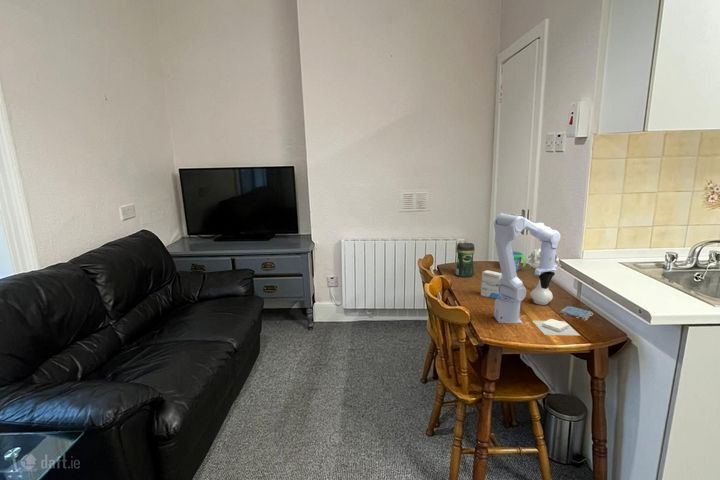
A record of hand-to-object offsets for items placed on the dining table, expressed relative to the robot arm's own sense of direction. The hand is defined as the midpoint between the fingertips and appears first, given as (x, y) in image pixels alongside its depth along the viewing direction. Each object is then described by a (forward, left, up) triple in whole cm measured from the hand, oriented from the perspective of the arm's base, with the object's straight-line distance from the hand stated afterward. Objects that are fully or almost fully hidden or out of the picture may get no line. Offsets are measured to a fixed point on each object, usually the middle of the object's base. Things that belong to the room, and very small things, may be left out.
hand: (544, 288), depth 171 cm
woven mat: (+13, -3, -11) cm, 17 cm away
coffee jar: (-23, +51, -11) cm, 57 cm away
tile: (-4, -20, -9) cm, 22 cm away
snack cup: (+7, +63, -11) cm, 64 cm away
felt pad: (-2, -18, -10) cm, 21 cm away
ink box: (-17, +18, -11) cm, 27 cm away
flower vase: (+3, +11, -11) cm, 16 cm away
